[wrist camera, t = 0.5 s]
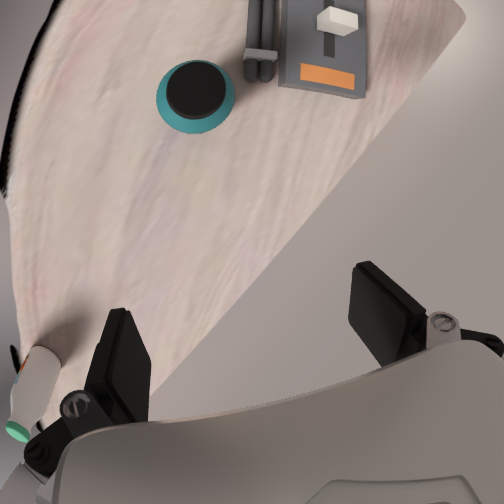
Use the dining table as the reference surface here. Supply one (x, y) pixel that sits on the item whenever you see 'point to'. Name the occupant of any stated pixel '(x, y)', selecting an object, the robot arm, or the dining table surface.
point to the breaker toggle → (337, 21)
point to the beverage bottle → (195, 96)
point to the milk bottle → (32, 391)
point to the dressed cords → (266, 52)
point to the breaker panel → (322, 50)
